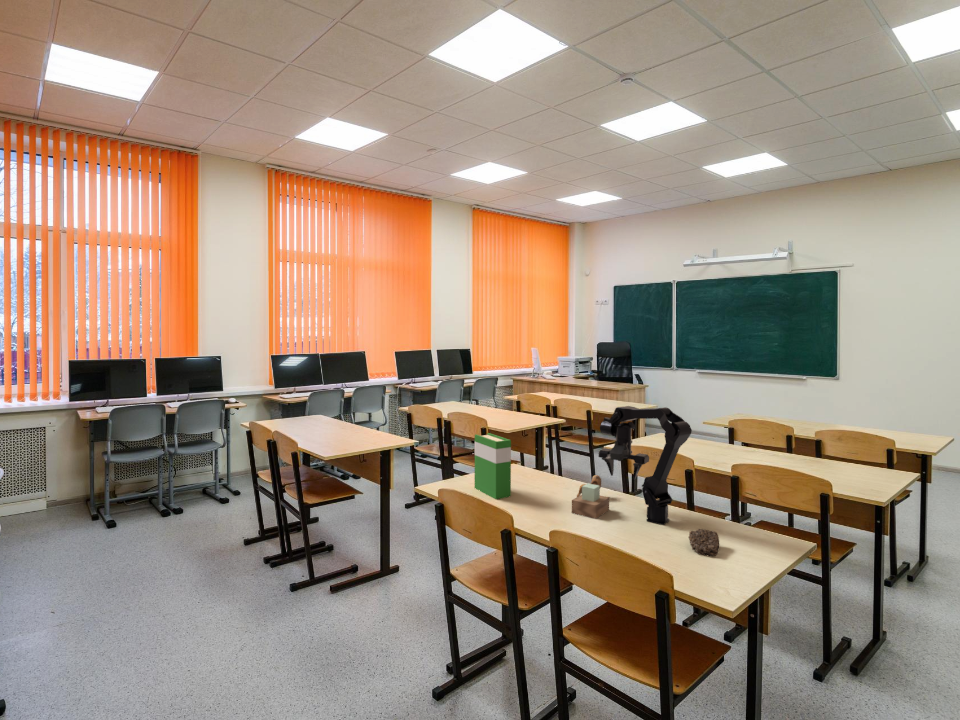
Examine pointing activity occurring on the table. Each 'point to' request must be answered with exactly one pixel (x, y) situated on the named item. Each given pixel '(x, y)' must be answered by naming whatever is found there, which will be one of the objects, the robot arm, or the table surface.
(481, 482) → the hardback book
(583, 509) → the walnut block
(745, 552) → the table surface
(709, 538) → the brown rock
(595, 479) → the lion figurine
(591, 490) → the sage cube
